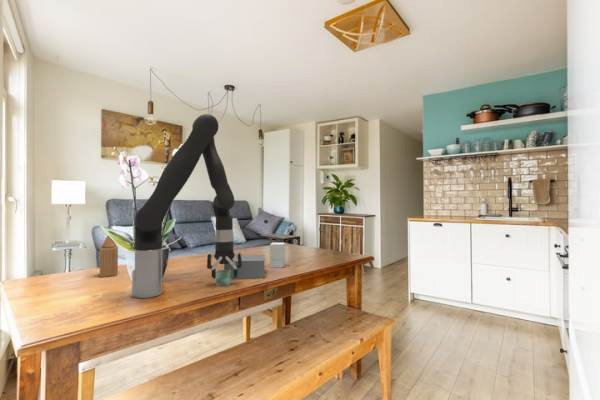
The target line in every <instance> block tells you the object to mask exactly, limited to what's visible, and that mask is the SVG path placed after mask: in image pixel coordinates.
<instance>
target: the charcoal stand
mask: <svg viewBox="0 0 600 400" xmlns="http://www.w3.org/2000/svg"><path fill="white" fill-rule="evenodd" d="M265 255H266V254H264V253H263V254H260V253H259V254H241V260H242V266H241V268H238V269H237V270H238V275H237V277H236V278H234V268H233V266H232V265H231V264H230V263H229V264H223V265H224V266H223V270H231V280H233V279H234V280H235V279H236V280H238V279H239V280H241V279H243V280H244V279H245V280H246V279H247V280H248V279H265V271H266V270H265V267H266V266H265V261H266V260H265V259H266V257H265ZM233 260H234V262H235V263H236V265H238V259H237V258H236V256H234V258H233Z"/></svg>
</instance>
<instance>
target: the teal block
mask: <svg viewBox="0 0 600 400" xmlns="http://www.w3.org/2000/svg"><path fill="white" fill-rule="evenodd" d="M231 284H232V279H231V270H224V269H218V270H217V271H216V278H215V287H225V286H226V287H229V286H230V285H231Z"/></svg>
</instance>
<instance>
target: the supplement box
mask: <svg viewBox="0 0 600 400" xmlns="http://www.w3.org/2000/svg"><path fill="white" fill-rule="evenodd" d="M285 266H286V242H271V243H270V244H269V267H270V268H275V269H277V268H279V269H281V268H282V269H283V268H285Z"/></svg>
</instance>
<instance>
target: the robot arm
mask: <svg viewBox="0 0 600 400" xmlns="http://www.w3.org/2000/svg"><path fill="white" fill-rule="evenodd" d="M191 128H192V129H191V132H190V133H189V136H188V137H187V139H186V140H185V141H184V143H183V144H182V145H181V146H180V147H179V148H178V149H177V151H176V152H175V153H174V154H173V156H172V157H171V159H170V160H169V162H167V164H166V166H165V168H164V170H163V171H162V172H161V175H160V176H159V179H158V181H157V184H156V186H155V189H154V191H152V194H151V195H150V196H149V198H148V199H147V201H146V202H145V203H144V205H143V206H141V207H140V209H138V210H137V211H136V213H135V216H134V270H132V275H131V277H132V278H131V280H132V282H131V283H132V284H131V285H132V286H131V288H132V289H131V297H132V298H138V299H146V298H147V299H149V298H153V297H157V296H158V297H159V296H160V295H161V294H162V293H163V236H162V234H163V232H162V229H163V228H162V227H163V226H162V224H163V222H164V220H165V217H166V215H167V212H168V211H169V209H170V207H171V204H172V203H173V201H174V200H175V198H176V197H177V196H178V195H179V193H180V192H181V190H183V188H184V187H185V184H186V183H187V182H188V181H189V179H190V177H191V175H192V174H193V171H194V170H195V168H196V166H197V164H198V163H199V160H200V159H201V156H202V157H203V160H204V163H205V168H206V172H207V175H208V179H209V182H210V186H211V188H212V189H213V190H214V191H215V196H214V198H213V203H212V204H213V211H214V216H215V217H214V218H215V233H214V236H215V237H214V239H215V240H214V242H215V245H214V246H215V247H214V249H215V253H214V254H213V253H208V254H207V256H206V257H207V262H206V269H209V270H211V278H213V279H215V280H216V272H217V271H216V268H217V266H218V265H224V264H229V263H230V264H231V265H232V266H233V268H234V278H236V277H237V275H238V270H237V269H238V268H241V266H242V260H241V255H242V253H241V252H238V253H235V251H234V240H235V239H234V238H235V237H234V229H233V228H234V225H233V223H234V222H233V217H232V216H231V214H230V213H231V212H230V209H232V208H233V207H234V205H235V197H234V193H233V191H232V188H231V186H230V184H229V182H228V178H227V173H226V170H225V166H224V164H223V162H222V159H221V158H220V156H219V154H218V151H217V148H216V143H215V135H217V133H218V131H219V122H218V119H217V118H216V117H215V116H214V115H213V114H210V113H206V114H205V113H204V114H200V115H199V116H198V117H197V118H196V119H195V120H194V121H193V123H192V127H191ZM234 256H236V258H237V259H238V265H236V263H235V262H234V260H233V258H234ZM213 259H215V260H216V261H215V263H214V264H213V265H212V260H213Z"/></svg>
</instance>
